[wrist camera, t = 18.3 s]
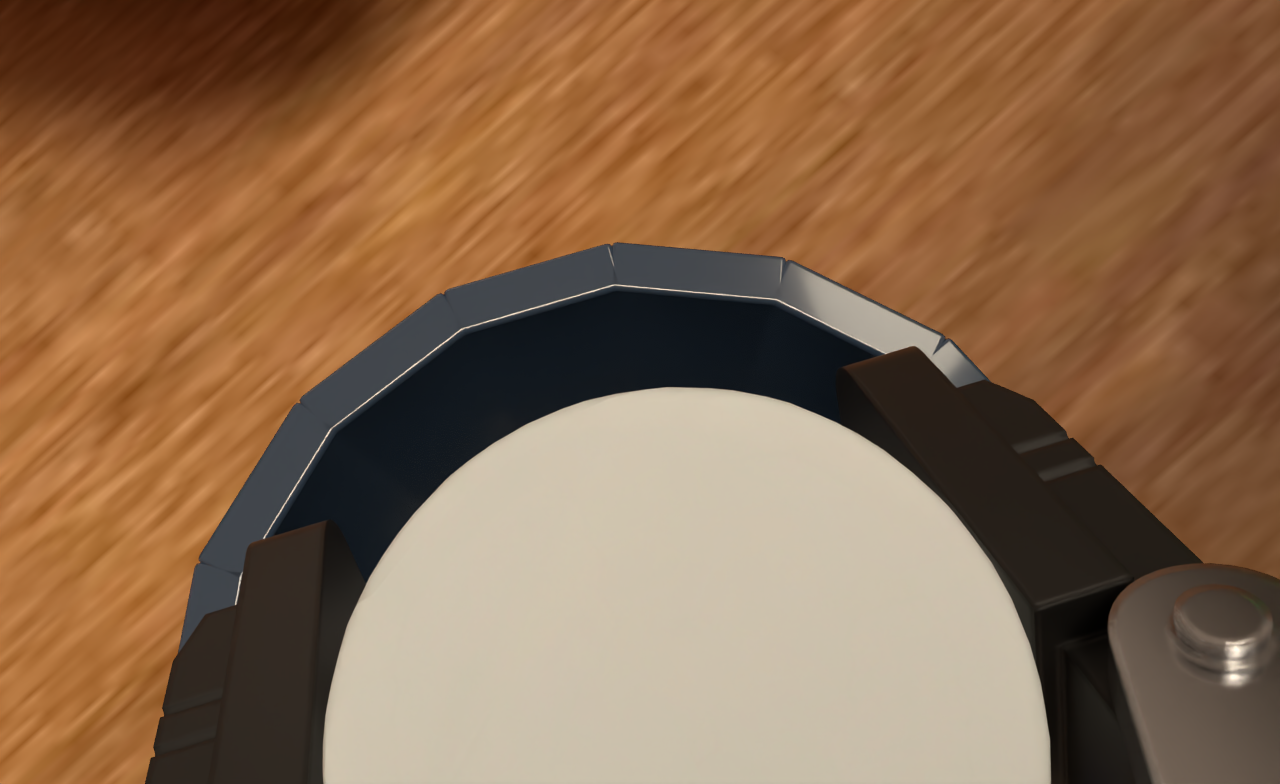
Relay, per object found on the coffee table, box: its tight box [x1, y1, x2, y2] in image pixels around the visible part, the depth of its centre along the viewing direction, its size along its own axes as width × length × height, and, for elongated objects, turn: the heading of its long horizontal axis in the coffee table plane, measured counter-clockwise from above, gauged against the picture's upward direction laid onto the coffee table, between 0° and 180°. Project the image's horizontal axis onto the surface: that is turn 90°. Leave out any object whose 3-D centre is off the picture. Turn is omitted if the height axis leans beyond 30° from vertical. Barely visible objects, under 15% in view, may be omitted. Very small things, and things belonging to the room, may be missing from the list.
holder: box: [178, 242, 991, 653], centre depth 16 cm, size 10×10×9 cm
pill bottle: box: [323, 387, 1051, 784], centre depth 10 cm, size 5×5×8 cm
